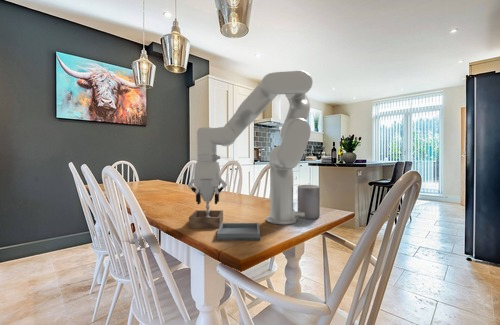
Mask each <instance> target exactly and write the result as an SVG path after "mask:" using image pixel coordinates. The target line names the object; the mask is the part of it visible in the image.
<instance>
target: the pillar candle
mask: <svg viewBox="0 0 500 325" xmlns="http://www.w3.org/2000/svg"><path fill="white" fill-rule="evenodd" d="M320 190H321V189H320V186H319V185H315V184H314V185H313V184H310V183H308V184H301V185H300V184H299V185H297V211H300V212H304V213H305V217H299V218H301V219H304V218H305V220H315V219H316V218H317V219H319V218H320V216H321V214H320V212H321V211H320V209H321V208H320V206H321V205H320V200H321V199H320V197H321V196H320V192H321V191H320ZM317 219H316V220H317Z"/></svg>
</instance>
